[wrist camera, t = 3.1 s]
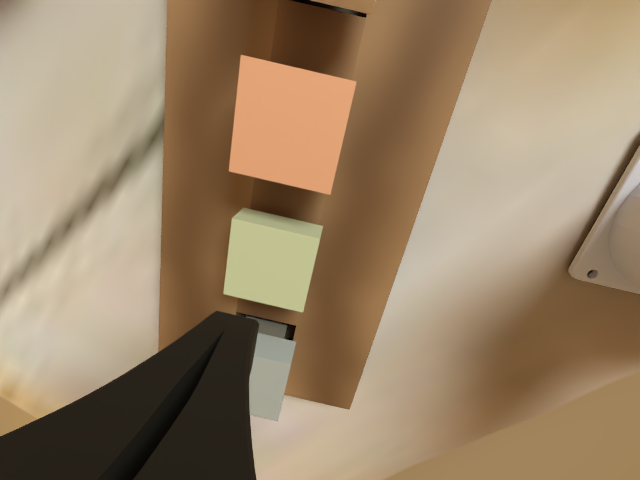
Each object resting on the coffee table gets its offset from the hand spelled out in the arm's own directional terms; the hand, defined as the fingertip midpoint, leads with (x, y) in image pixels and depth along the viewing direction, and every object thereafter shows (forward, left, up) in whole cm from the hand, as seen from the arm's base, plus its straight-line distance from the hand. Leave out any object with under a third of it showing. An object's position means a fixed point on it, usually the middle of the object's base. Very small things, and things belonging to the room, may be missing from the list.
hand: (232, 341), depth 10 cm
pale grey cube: (0, +6, -7) cm, 10 cm away
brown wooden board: (0, -3, -9) cm, 9 cm away
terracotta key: (0, -6, -8) cm, 10 cm away
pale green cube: (0, 0, -8) cm, 9 cm away
